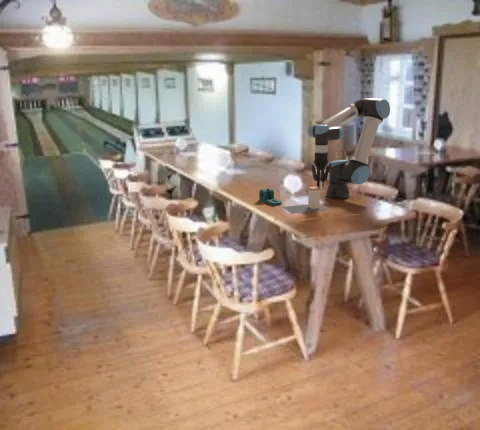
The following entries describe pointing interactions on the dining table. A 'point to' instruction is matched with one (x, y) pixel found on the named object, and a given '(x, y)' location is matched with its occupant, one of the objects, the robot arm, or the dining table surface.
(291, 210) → the slate mat
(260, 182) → the dining table surface
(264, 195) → the bracket
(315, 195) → the cream block
